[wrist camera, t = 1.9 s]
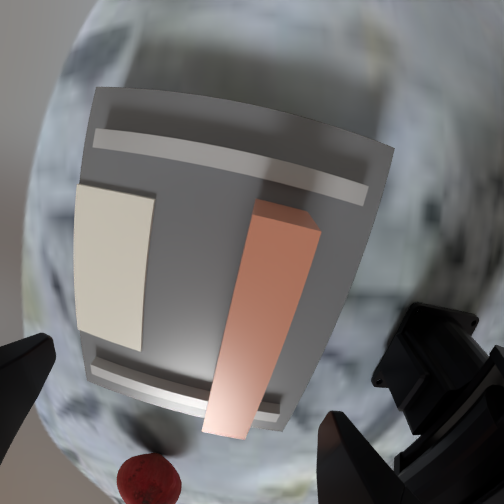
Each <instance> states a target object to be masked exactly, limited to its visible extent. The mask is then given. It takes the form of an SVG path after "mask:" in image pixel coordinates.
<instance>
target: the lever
mask: <svg viewBox="0 0 504 504" xmlns="http://www.w3.org/2000/svg"><path fill="white" fill-rule="evenodd" d="M320 235H321V230H320V229H319V227H318V226H317V224H316V223H315V221H314V220H313V219H312V217H311V216H310V214H309V213H308V212H307V211H304V210H300V209H296V208H292V207H288V206H284V205H280V204H276V203H272V202H268V201H264V200H260V199H255V203H254V207H253V212H252V216H251V220H250V224H249V228H248V232H247V236H246V241H245V245H244V249H243V253H242V257H241V261H240V266H239V270H238V274H237V278H236V283H235V287H234V291H233V295H232V299H231V304H230V308H229V312H228V317H227V321H226V325H225V329H224V334H223V338H222V342H221V347H220V351H219V355H218V360H217V364H216V368H215V373H214V377H213V381H212V386H211V390H210V395H209V400H208V404H207V409H206V414H205V418H204V423H203V428H202V432H206V433H211V434H215V435H220V436H226V437H231V438H237V439H243V440H245V438H246V436H247V433H248V431H249V429H250V427H251V424H252V422H253V420H254V417H255V415H256V412H257V410H258V408H259V405H260V403H261V400H262V398H263V396H264V393H265V391H266V388H267V386H268V383H269V381H270V378H271V376H272V373H273V370H274V368H275V365H276V363H277V360H278V357H279V355H280V352H281V350H282V347H283V344H284V342H285V339H286V336H287V333H288V331H289V328H290V325H291V322H292V320H293V317H294V314H295V311H296V308H297V305H298V303H299V300H300V297H301V294H302V291H303V288H304V285H305V282H306V279H307V276H308V273H309V270H310V267H311V264H312V261H313V258H314V254H315V251H316V248H317V245H318V242H319V238H320Z"/></svg>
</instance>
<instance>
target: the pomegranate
mask: <svg viewBox="0 0 504 504" xmlns="http://www.w3.org/2000/svg"><path fill="white" fill-rule="evenodd" d="M181 483H182V482H181V479H180V476H179V474H178V473H177V471H176V470H175V468H174V467H173V465H172V464H171V463H170V462H169V461H168V460H167V459H165V458H164V457H163V456H162V455H161V454H159V453H151V454H142V455H138V456H134V457H131V458H130V459H128V460H126V461H125V462H124V463H123V464H122V466H121V467H120V469H119V471H118V474H117V487H118V490H119V493H120V495H121V497H122V499H123V500H124V502H125V503H126V504H175V503H176V502H177V500H178V498H179V495H180V493H181Z"/></svg>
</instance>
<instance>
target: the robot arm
mask: <svg viewBox="0 0 504 504" xmlns="http://www.w3.org/2000/svg"><path fill="white" fill-rule="evenodd" d="M418 309H419V310H418ZM416 310H418V312H416V313H415V311H416ZM478 322H479V318H478V317H477V316H476V315H475V314H471V313H466V312H462V311H457V310H452V309H447V308H442V307H438V306H433V305H428V304H423V303H419V302H417V303H414V304H412V305H411V306H410V308H409V310H408V312H407V314H406V316H405V318H404V320H403V322H402V324H401V326H400V328H399V330H398V332H397V334H396V335H395V337H394V339H393V341H392V343H391V345H390V346H389V348H388V350H387V352H386V354H385V355H384V357H383V359H382V361H381V363H380V364H379V367H378V368H377V370H376V372H375V373H374V375H373V377H372V379H371V382H372V384H373V386H374V387H381V388H389V390H390V392H391V394H392V396H393V399H394V401H395V403H396V406H397V408H398V410H399V411H403V413H404V415H405V418H406V420H407V422H408V425H409V427H410V430H411V432H412V435H421V436H420V437H419V438H418V439H417V440H416V441H415V442H414V443H412V444H411V445H410V446H409V447H408V448H407V449H406V450H405V451H403V452H400V453H399V454H398V455H397V456H396V457H395V458H394V471H393V470H392V469H391V468H390V467H389V466H388V464H387V463H386V462H385V461H384V460H383V459H382V457H381V456H380V455H379V454H378V453H377V452H376V450H375V449H374V448H373V447H372V446H371V445H370V443H369V442H368V441H367V440H366V439H365V438H364V436H363V435H362V434H361V433H360V432H359V430H358V429H357V428H356V427H355V426H354V424H353V423H352V422H351V421H350V420H349V418H348V417H347V416H346V415H345V414H344V413H343V412H342V411H330V412H328V414H327V415H326V417H325V418H324V420H323V421H322V423H321V424H320V426H319V429H318V447H317V469H316V473H317V489H318V504H504V348H503V347H501V346H498V345H495V346H494V348H493V349H492V351H491V352H490V354H489V355H490V356H488V355H487V354H486V353H485V351H484V350H483V349H482V348H481V347H480V346H479V344H478V343H477V342H476V341H475V340H474V339H473V338H472V337H471V336H472V334H473V332H474V330H475V328H476V326H477V325H478ZM55 360H56V352H55V348H54V343H53V339H52V337H51V336H49V335H47V334H45V333H38V334H36V335H33V336H30V337H27V338H24V339H21V340H18V341H15V342H12V343H10V344H7V345H4V346H1V347H0V465H1V463H2V461H3V459H4V457H5V455H6V453H7V451H8V449H9V447H10V445H11V443H12V441H13V439H14V437H15V436H16V434H17V432H18V430H19V428H20V426H21V425H22V423H23V421H24V419H25V418H26V416H27V414H28V412H29V411H30V409H31V407H32V406H33V404H34V402H35V401H36V399H37V397H38V395H39V393H40V392H41V390H42V387H43V385H44V383H45V381H46V379H47V377H48V375H49V373H50V371H51V369H52V367H53V365H54V363H55ZM379 379H380V380H379Z"/></svg>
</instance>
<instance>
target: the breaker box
mask: <svg viewBox="0 0 504 504" xmlns="http://www.w3.org/2000/svg"><path fill="white" fill-rule="evenodd" d="M394 149H395V148H393V147H390V146H388V145H385V144H383V143H380V142H378V141H375V140H372V139H370V138H367V137H364V136H361V135H359V134H356V133H353V132H350V131H347V130H344V129H341V128H338V127H335V126H332V125H329V124H325V123H322V122H319V121H315V120H312V119H308V118H305V117H301V116H298V115H294V114H290V113H286V112H282V111H278V110H274V109H270V108H266V107H261V106H257V105H252V104H247V103H242V102H237V101H232V100H227V99H221V98H215V97H209V96H202V95H195V94H188V93H180V92H172V91H162V90H151V89H138V88H119V87H96V90H95V94H94V99H93V103H92V107H91V112H90V117H89V122H88V127H87V133H86V138H85V144H84V151H83V158H82V165H81V173H80V182H79V184H77V190H76V202H75V218H74V287H75V304H76V316H77V326H78V329H79V330H80V336H81V345H82V352H83V359H84V365H85V371H86V377H87V381H89V382H92V383H94V384H97V385H99V386H102V387H104V388H107V389H109V390H112V391H115V392H117V393H120V394H123V395H126V396H129V397H132V398H135V399H137V400H141V401H144V402H147V403H150V404H153V405H156V406H160V407H163V408H167V409H170V410H174V411H177V412H181V413H185V414H189V415H193V416H197V417H201V418H205V414H206V409H207V404H208V400H209V395H210V390H211V386H212V381H213V377H214V373H215V368H216V364H217V360H218V355H219V351H220V347H221V342H222V338H223V334H224V329H225V325H226V321H227V317H228V312H229V308H230V304H231V299H232V295H233V291H234V287H235V283H236V278H237V274H238V270H239V266H240V261H241V257H242V253H243V249H244V245H245V241H246V236H247V232H248V228H249V224H250V220H251V216H252V212H253V207H254V203H255V199H260V200H264V201H268V202H272V203H276V204H280V205H284V206H288V207H292V208H296V209H300V210H304V211H307V212H308V213H309V214H310V216H311V217H312V219H313V220H314V221H315V223H316V224H317V226H318V227H319V229H320V230H321V235H320V238H319V242H318V245H317V248H316V251H315V254H314V258H313V261H312V264H311V267H310V270H309V273H308V276H307V279H306V282H305V285H304V288H303V291H302V294H301V297H300V300H299V303H298V305H297V308H296V311H295V314H294V317H293V320H292V322H291V325H290V328H289V331H288V333H287V336H286V339H285V342H284V344H283V347H282V350H281V352H280V355H279V357H278V360H277V363H276V365H275V368H274V370H273V373H272V376H271V378H270V381H269V383H268V386H267V388H266V391H265V393H264V396H263V398H262V400H261V403H260V405H259V408H258V410H257V412H256V415H255V417H254V420H253V422H252V424H251V427H252V428H259V429H266V430H273V431H283V430H284V428H285V426H286V424H287V423H288V421H289V419H290V417H291V415H292V414H293V412H294V410H295V408H296V406H297V404H298V402H299V400H300V398H301V397H302V395H303V393H304V391H305V389H306V387H307V385H308V383H309V381H310V379H311V377H312V375H313V373H314V371H315V369H316V366H317V364H318V362H319V360H320V358H321V356H322V354H323V352H324V349H325V347H326V345H327V343H328V341H329V338H330V336H331V334H332V332H333V329H334V327H335V325H336V322H337V320H338V318H339V315H340V313H341V311H342V308H343V306H344V303H345V301H346V298H347V296H348V293H349V291H350V288H351V286H352V283H353V280H354V278H355V275H356V272H357V270H358V267H359V264H360V262H361V259H362V256H363V253H364V250H365V247H366V245H367V242H368V239H369V236H370V233H371V230H372V227H373V224H374V220H375V217H376V214H377V211H378V208H379V204H380V201H381V198H382V194H383V191H384V187H385V184H386V180H387V176H388V173H389V169H390V165H391V161H392V157H393V153H394Z"/></svg>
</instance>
